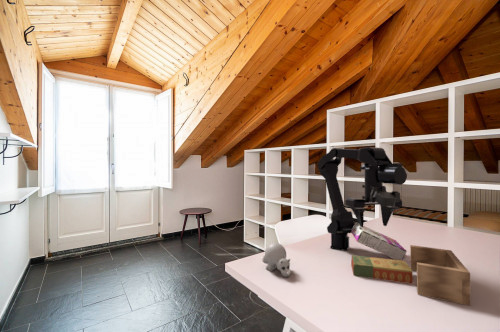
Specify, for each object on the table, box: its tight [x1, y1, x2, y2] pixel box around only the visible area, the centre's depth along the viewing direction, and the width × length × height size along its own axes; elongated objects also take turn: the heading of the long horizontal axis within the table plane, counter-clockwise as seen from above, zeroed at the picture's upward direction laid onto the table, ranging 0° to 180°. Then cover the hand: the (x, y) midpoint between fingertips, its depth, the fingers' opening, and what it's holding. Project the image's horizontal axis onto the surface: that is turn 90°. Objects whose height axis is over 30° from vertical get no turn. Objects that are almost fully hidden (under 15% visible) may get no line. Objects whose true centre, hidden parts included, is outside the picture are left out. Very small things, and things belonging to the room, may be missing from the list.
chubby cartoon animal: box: [262, 242, 291, 278], centre depth 76 cm, size 7×12×8 cm, turn 24°
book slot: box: [409, 244, 471, 307], centre depth 68 cm, size 10×18×8 cm, turn 151°
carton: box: [350, 254, 414, 285], centre depth 74 cm, size 8×16×4 cm, turn 70°
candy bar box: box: [350, 222, 408, 261], centre depth 90 cm, size 11×5×16 cm
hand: (373, 226), depth 83 cm, fingers open, 9 cm apart
